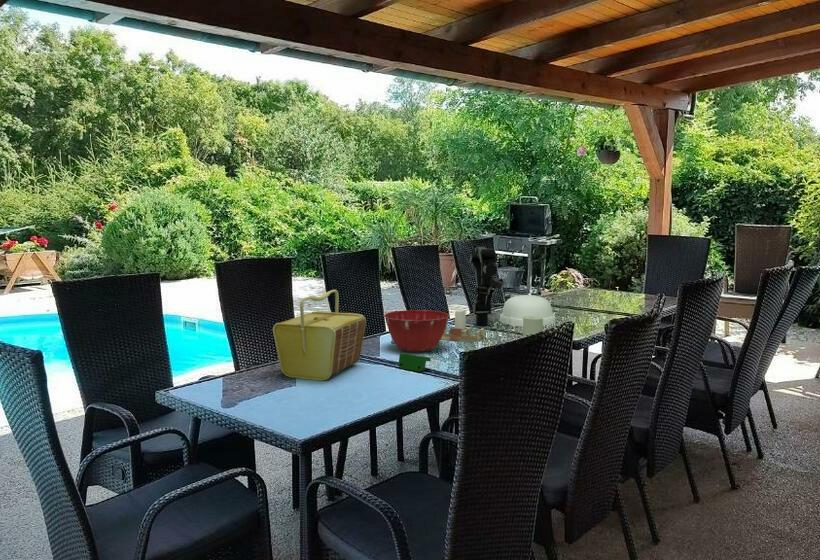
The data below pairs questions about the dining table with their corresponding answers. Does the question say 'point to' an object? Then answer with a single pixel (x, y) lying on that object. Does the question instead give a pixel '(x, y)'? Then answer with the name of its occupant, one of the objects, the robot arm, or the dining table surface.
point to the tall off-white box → (460, 319)
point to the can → (532, 324)
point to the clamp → (413, 362)
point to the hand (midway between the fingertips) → (486, 304)
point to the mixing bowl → (416, 329)
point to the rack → (463, 335)
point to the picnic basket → (319, 341)
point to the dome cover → (526, 310)
